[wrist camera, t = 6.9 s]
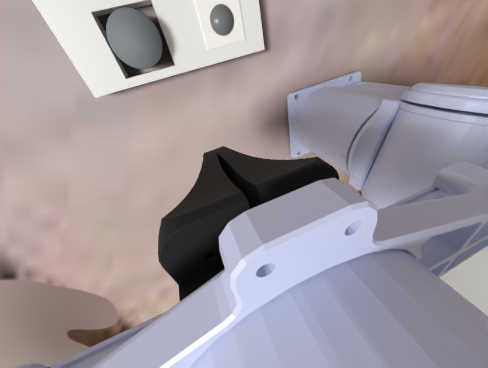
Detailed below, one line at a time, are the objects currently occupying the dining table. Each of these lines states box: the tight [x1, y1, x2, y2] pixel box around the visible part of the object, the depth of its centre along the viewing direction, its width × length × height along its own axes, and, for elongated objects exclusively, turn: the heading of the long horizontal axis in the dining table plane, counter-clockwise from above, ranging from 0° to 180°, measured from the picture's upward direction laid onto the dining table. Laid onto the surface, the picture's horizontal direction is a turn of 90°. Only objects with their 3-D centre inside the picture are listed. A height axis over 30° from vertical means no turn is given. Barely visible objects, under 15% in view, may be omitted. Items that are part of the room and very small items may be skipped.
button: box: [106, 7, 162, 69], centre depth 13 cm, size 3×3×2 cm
